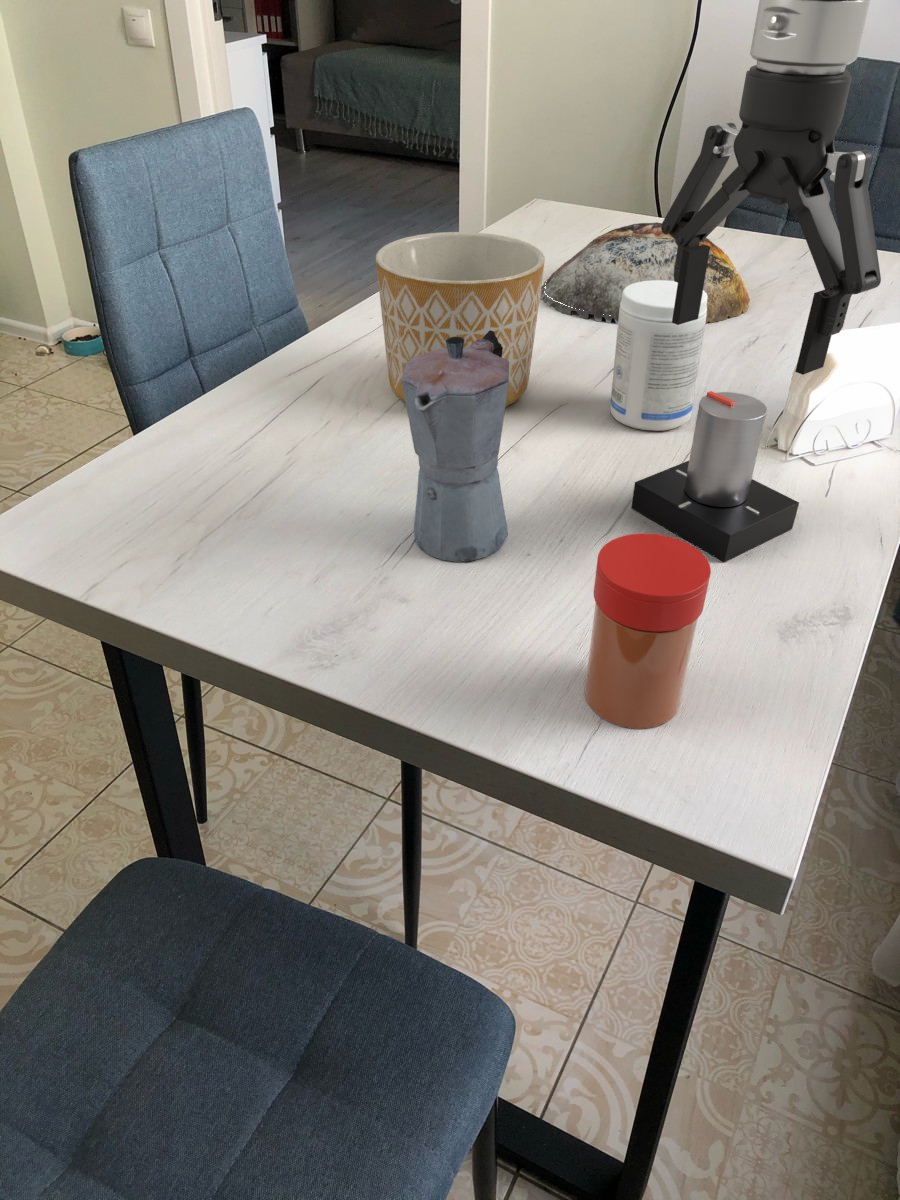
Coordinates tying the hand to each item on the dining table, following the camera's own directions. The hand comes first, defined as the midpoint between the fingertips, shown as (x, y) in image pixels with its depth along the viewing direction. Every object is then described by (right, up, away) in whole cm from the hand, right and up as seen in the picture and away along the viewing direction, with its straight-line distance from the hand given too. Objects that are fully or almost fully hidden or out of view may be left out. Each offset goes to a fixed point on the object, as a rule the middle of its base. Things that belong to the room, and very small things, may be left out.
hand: (743, 344), depth 82 cm
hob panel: (0, -14, +11) cm, 18 cm away
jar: (-12, -30, -10) cm, 33 cm away
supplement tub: (-2, -1, +30) cm, 30 cm away
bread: (+5, +25, +65) cm, 70 cm away
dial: (0, -12, +9) cm, 15 cm away
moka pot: (-25, -16, +8) cm, 31 cm away
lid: (-12, -20, -17) cm, 29 cm away
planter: (-25, +4, +35) cm, 43 cm away
